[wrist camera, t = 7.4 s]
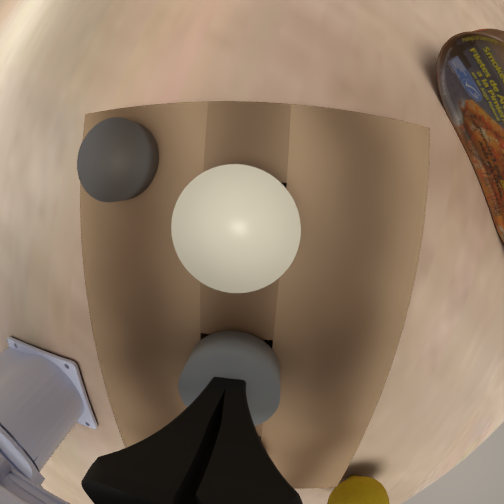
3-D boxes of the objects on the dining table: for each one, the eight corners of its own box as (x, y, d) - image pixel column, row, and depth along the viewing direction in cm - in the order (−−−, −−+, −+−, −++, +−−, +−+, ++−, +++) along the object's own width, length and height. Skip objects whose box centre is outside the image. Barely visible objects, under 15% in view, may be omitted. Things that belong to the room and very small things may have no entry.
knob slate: (204, 363, 17) (182, 421, 12) (204, 299, 16) (174, 347, 11) (276, 370, 17) (274, 432, 12) (283, 306, 16) (286, 360, 11)
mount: (145, 434, 20) (126, 473, 16) (118, 124, 15) (71, 110, 10) (332, 455, 19) (338, 498, 15) (400, 137, 14) (442, 123, 9)
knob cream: (204, 253, 15) (171, 286, 10) (207, 169, 14) (173, 162, 9) (288, 259, 15) (294, 298, 10) (295, 173, 14) (305, 168, 9)
